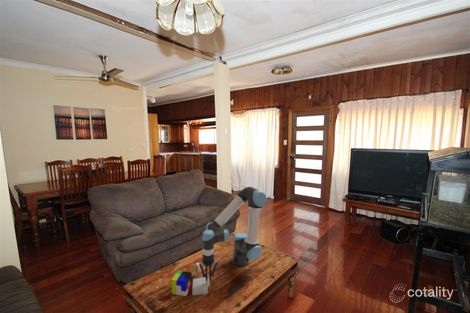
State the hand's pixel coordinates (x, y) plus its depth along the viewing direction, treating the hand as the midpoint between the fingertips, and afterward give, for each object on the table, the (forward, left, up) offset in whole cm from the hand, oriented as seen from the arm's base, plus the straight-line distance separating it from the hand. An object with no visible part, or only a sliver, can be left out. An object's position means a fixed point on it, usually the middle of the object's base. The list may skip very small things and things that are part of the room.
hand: (208, 284), depth 148 cm
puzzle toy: (+18, 0, -2) cm, 18 cm away
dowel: (+8, -12, -1) cm, 15 cm away
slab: (+6, 0, -2) cm, 6 cm away
